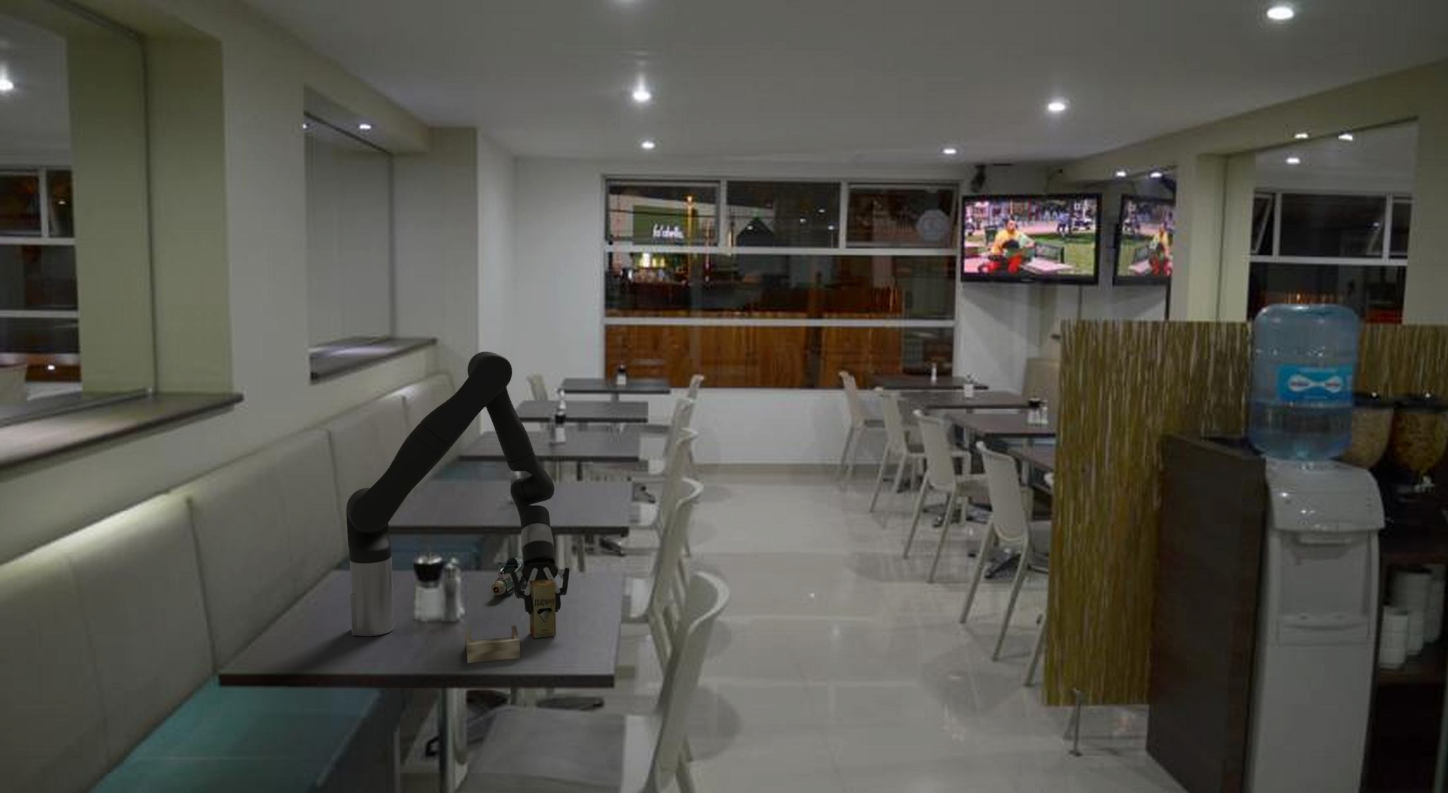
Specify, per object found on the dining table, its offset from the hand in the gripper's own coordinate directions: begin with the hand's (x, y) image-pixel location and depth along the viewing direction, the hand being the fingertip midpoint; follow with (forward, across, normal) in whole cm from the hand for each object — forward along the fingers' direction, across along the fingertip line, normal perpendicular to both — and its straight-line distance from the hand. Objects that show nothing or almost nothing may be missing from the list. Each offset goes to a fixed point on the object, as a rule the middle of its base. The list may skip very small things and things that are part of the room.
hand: (543, 611), depth 242 cm
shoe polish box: (+3, 0, +6) cm, 6 cm away
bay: (+9, -12, 0) cm, 15 cm away
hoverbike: (-24, -4, +34) cm, 42 cm away
